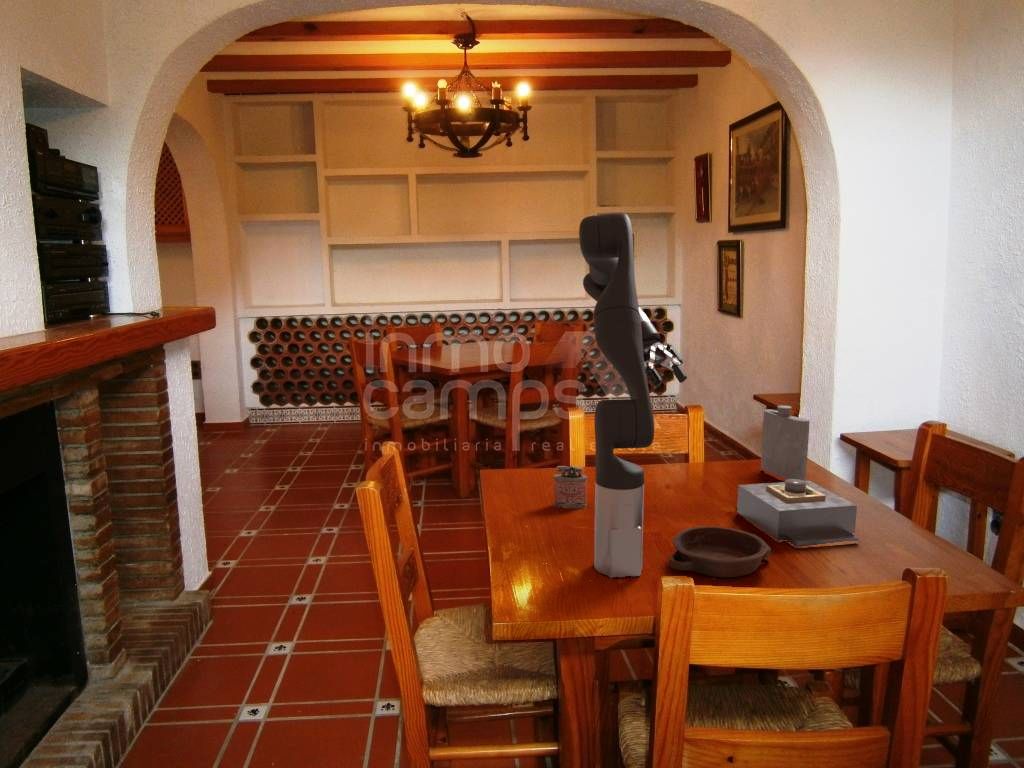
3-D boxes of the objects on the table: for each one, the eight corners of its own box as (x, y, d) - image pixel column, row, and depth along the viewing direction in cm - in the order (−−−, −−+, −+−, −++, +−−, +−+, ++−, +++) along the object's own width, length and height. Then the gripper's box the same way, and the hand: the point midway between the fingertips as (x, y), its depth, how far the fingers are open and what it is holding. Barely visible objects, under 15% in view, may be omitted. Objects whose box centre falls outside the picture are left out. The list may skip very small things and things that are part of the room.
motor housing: (866, 543, 154) (869, 507, 153) (787, 549, 151) (789, 512, 150) (798, 503, 180) (800, 471, 178) (729, 508, 177) (730, 475, 175)
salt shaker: (807, 527, 164) (810, 484, 162) (789, 528, 163) (792, 485, 161) (796, 520, 168) (799, 478, 166) (778, 521, 167) (781, 479, 166)
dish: (646, 556, 149) (647, 533, 148) (738, 542, 156) (739, 519, 156) (695, 592, 133) (696, 566, 132) (795, 574, 140) (796, 549, 139)
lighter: (586, 503, 180) (587, 464, 179) (586, 508, 177) (587, 468, 175) (553, 503, 181) (554, 463, 179) (553, 507, 178) (553, 467, 176)
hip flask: (808, 485, 194) (813, 411, 190) (795, 487, 192) (800, 412, 189) (767, 469, 208) (771, 400, 205) (755, 471, 207) (759, 401, 204)
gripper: (624, 321, 172) (660, 375, 165) (665, 317, 180) (701, 369, 173) (607, 341, 177) (642, 395, 170) (648, 337, 185) (682, 388, 178)
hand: (672, 382), depth 172 cm, fingers open, 8 cm apart
